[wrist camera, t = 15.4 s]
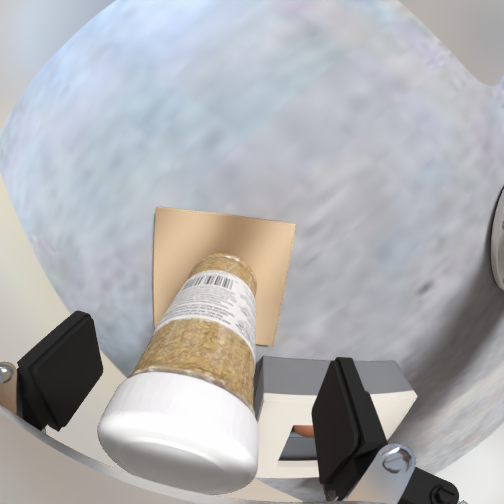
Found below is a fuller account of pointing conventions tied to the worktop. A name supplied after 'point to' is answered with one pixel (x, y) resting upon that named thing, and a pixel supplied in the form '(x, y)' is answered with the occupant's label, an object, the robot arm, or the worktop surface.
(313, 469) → the grey square open box
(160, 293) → the coaster
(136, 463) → the sprinkles bottle
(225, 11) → the worktop surface
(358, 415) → the robot arm
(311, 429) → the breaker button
